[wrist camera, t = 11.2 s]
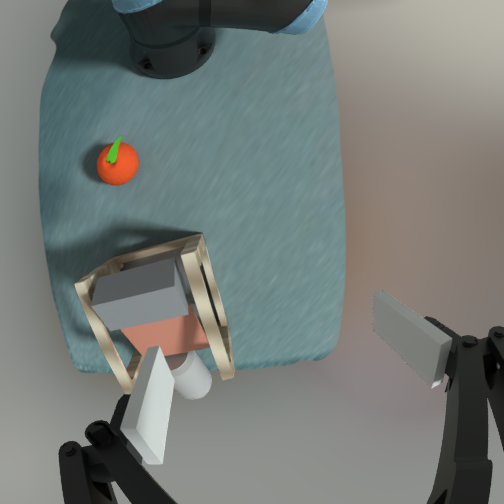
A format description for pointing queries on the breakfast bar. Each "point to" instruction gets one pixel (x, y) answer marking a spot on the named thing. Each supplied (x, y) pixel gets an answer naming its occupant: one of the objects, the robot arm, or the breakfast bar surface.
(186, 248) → the frame
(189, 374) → the can
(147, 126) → the breakfast bar surface
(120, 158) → the clementine
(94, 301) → the grey and pink block
